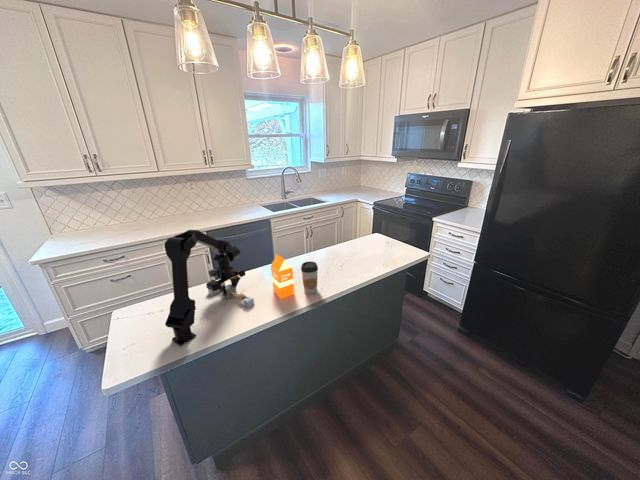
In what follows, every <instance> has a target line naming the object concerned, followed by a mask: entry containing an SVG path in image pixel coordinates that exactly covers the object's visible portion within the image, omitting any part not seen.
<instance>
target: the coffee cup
mask: <svg viewBox="0 0 640 480" xmlns="http://www.w3.org/2000/svg"><path fill="white" fill-rule="evenodd" d="M318 270H319V267H318V264H317V262H315V261H305V262H303V263H302V264H301V267H300V271H301V276H302V277H301V278H302V285H303V289H304V293H305V294H306V293H307V294H306V295H314V294H316V293H317V291H318ZM315 292H316V293H315Z"/></svg>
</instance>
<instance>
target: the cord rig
mask: <svg viewBox="0 0 640 480" xmlns="http://www.w3.org/2000/svg"><path fill="white" fill-rule="evenodd" d="M217 279H218V280H220V278H217ZM217 279H215V280H216V281H218V280H217ZM223 285H224V286H226V282H224V283H223ZM207 291H208V294H209V295H211V296H214V295H216V294H217V293H221V291H220V290H219V289H218V290H216V291H212V290H210V289H208V288H207ZM230 293H231V294H234V296H235V297H238V300H240V301H243V306H244V307H245V308H247V309H249V308H251V307H253V306H254V305H255V299H254V297H251V296H247V295H245V294H244V293H238V292H237V293H235V292H233V291H231V292H230Z"/></svg>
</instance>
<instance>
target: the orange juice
mask: <svg viewBox="0 0 640 480" xmlns="http://www.w3.org/2000/svg"><path fill="white" fill-rule="evenodd" d="M270 271H271V281H272V288H273V290H272V291H273V292H274V293H275V294H276V296H278V298H280V300H282V299H284V298H287V297H289V296H290V297H291V296H293V295H295V284H294V272H293V271H294V270H293V267H292V265H290V264H289V262H287V260H286V259H284V258H283V257H282V256H280V255H279V254H276V255H275V258H274V259H273V260H272V263H271V265H270Z"/></svg>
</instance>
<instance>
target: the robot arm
mask: <svg viewBox="0 0 640 480" xmlns="http://www.w3.org/2000/svg"><path fill="white" fill-rule="evenodd" d="M197 243H198V244H201V245H203V246H206V247H208V248H209V250H211V251H212V252H213V253H217V254H215V256H214V257H213V259H212V260H213V261H216V263H217V267H216V269H211V270H208V275H209V277H210V278H215V277H216V278H217V279H220V280H218V281H216V280H217V279H212V280H210V281H208V282H207V283H206V289H207V290H208V289H210V290H212V291H216V290H218V289H219V290H220V293H221V295H222V294H223V296H222V297H224V298H226V285H225V286H224V285H223V283H224V282H225V283H226V282H227V281H230V284H231V285H233V286H235V287H236V288H237V286H238V284H239V282H240V280H241V279H242V277H245V276H246V271H245V270H244V269H241V268H240V267H237V268H235V269H233V268H234V267H233V266H232V265H231V264H232V263H231V262H233V261H235V260H236V259H237V258H239V257H240V256H241V250H240V249H239V248H238V247H237V245H236V244H232V245H231V244H230V242H229V241H227V240H222V239H221V240H220V239H216V238H214V237H213V236H210V235H208V234H205V233H203V232H202V231H201V230H199V229H187V230H186V231H185V232H182V233H180V234H177V235H176V234H175V235H174V236H172V237H169V238H168V239H167V240H166V241H165V242H164V249H165V254H166V256H167V258H168V259H169V261H170V262H171V272H172V273H171V274H172V286H173V287H172V288H173V290H172V291H173V300H172V302H171V304H170V305H169V312H168V316H167V318H166V321H165V324H164V325H165V326H166V327H167V328H171V329H172V332H173V334H174V337H173V338H171V341H173V342H174V343H175V344H177V345H178V346H183V345H185V344H186V343H189V342H190V341H191V340H193V339H194V338H196V337H197V334H196V333H194V332H192V329H191V327H192V326H193V325H194V324H195V315H196V312H195V311H196V310H197V308H196V300H195V299H191V298H190V294H189V293H190V292H189V277H188V265H187V262H188V260H189V257H190V255H191V253H192V252H191V251H192V248H194V247H195V246H197Z"/></svg>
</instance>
